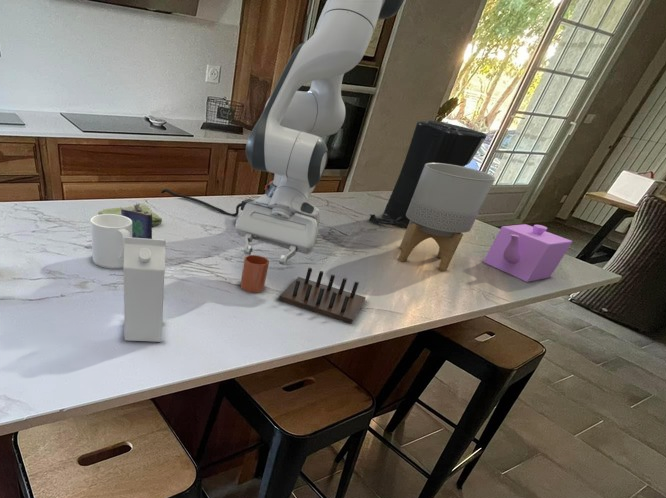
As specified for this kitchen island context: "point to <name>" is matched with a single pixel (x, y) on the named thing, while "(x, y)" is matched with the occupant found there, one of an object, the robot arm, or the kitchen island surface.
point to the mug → (109, 239)
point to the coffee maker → (428, 147)
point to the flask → (139, 221)
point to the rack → (324, 297)
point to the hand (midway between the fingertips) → (264, 258)
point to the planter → (444, 208)
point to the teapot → (527, 251)
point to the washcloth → (155, 218)
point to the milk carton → (143, 288)
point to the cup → (254, 273)
